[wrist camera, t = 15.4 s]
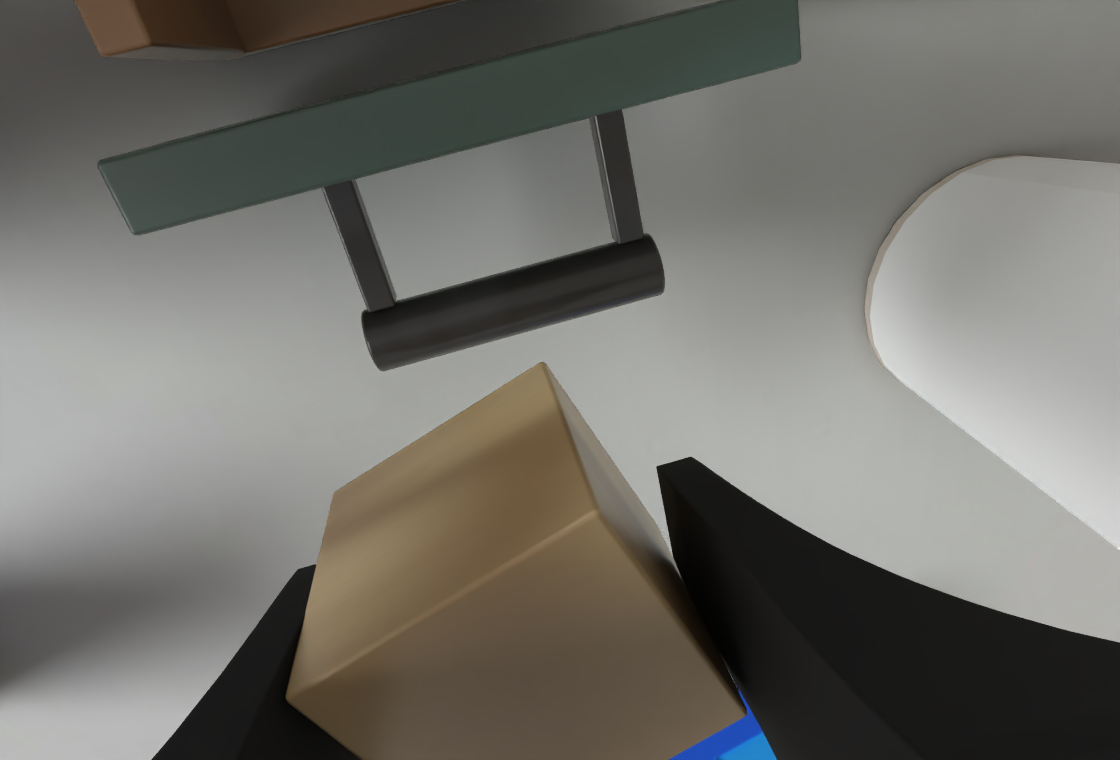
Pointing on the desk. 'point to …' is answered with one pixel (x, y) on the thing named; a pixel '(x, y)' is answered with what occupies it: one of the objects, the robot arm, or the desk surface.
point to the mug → (1015, 319)
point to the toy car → (732, 743)
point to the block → (505, 602)
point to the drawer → (430, 142)
